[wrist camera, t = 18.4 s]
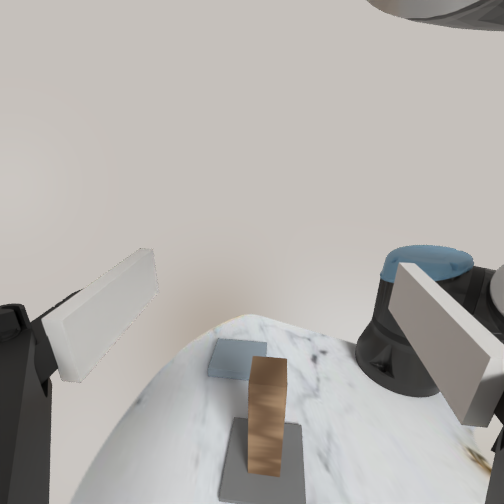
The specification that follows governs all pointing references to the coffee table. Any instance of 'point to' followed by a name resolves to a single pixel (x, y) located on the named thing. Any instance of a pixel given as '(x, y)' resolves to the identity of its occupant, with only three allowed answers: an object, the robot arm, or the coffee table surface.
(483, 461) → the coffee table surface
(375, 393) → the coffee table surface
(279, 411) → the tall wooden pillar
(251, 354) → the tile
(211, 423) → the coffee table surface
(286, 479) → the plate
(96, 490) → the coffee table surface
